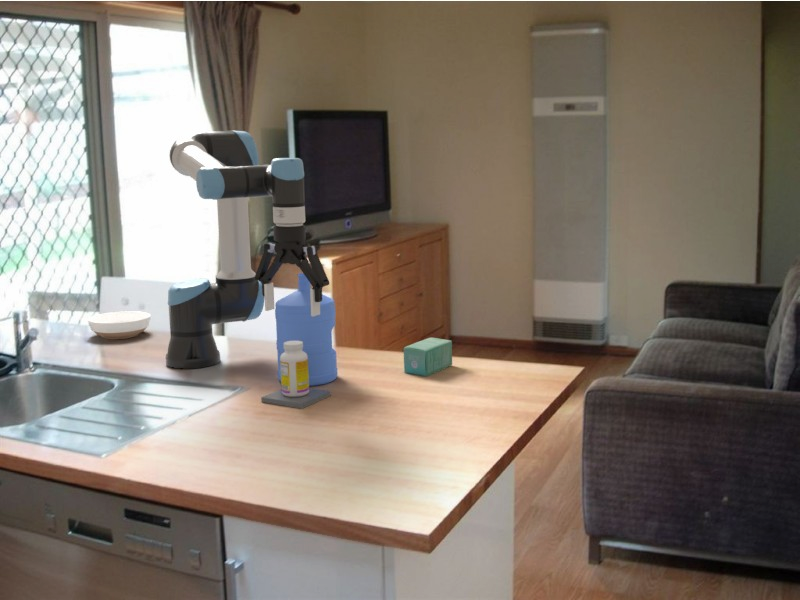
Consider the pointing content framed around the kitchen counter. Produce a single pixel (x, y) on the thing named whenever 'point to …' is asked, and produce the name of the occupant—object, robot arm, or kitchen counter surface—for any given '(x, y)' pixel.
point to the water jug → (308, 331)
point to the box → (427, 356)
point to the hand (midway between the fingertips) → (292, 312)
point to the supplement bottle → (294, 370)
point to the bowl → (119, 324)
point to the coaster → (296, 398)
